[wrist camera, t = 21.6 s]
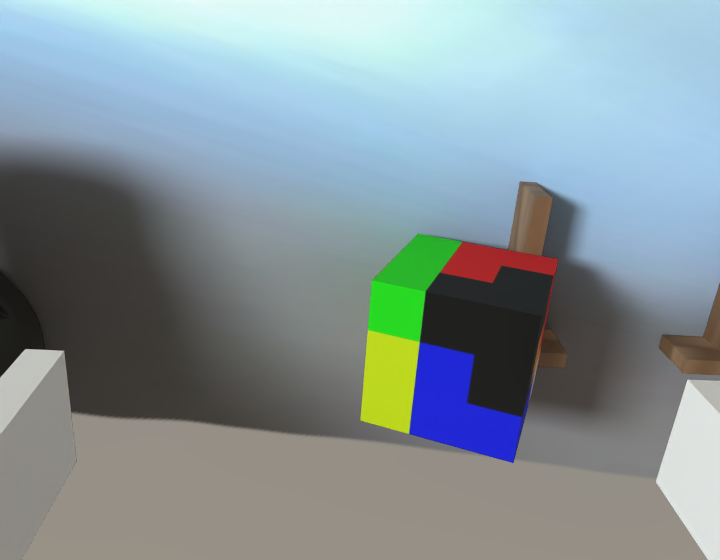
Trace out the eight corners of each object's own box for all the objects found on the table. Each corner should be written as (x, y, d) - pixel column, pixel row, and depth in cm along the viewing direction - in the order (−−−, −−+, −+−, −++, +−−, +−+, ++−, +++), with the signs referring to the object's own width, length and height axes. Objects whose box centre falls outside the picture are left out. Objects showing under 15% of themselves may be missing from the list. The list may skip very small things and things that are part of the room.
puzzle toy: (533, 384, 49) (513, 462, 40) (405, 353, 52) (360, 420, 43) (558, 259, 45) (542, 315, 37) (418, 233, 48) (372, 280, 40)
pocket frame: (492, 339, 53) (504, 364, 49) (519, 181, 48) (535, 196, 44) (713, 350, 54) (740, 376, 51) (762, 197, 49) (797, 213, 46)
